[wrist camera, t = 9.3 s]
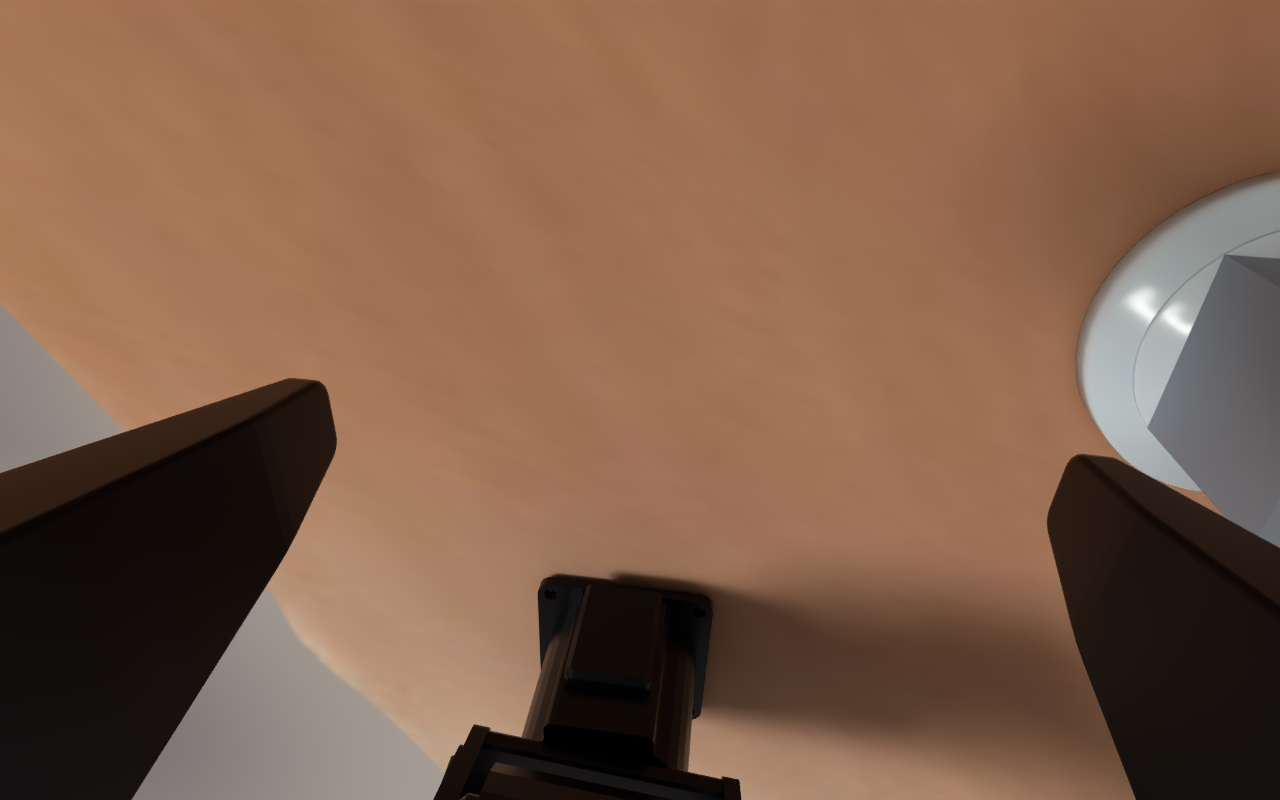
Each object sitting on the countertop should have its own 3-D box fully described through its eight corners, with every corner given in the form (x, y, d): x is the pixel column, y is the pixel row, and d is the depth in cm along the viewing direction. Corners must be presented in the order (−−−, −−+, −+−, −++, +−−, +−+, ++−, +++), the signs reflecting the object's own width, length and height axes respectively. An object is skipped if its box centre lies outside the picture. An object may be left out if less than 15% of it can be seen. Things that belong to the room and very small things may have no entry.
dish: (1347, 484, 22) (1381, 514, 21) (1034, 454, 23) (1050, 480, 22) (1540, 179, 18) (1597, 194, 17) (1144, 154, 19) (1171, 167, 17)
